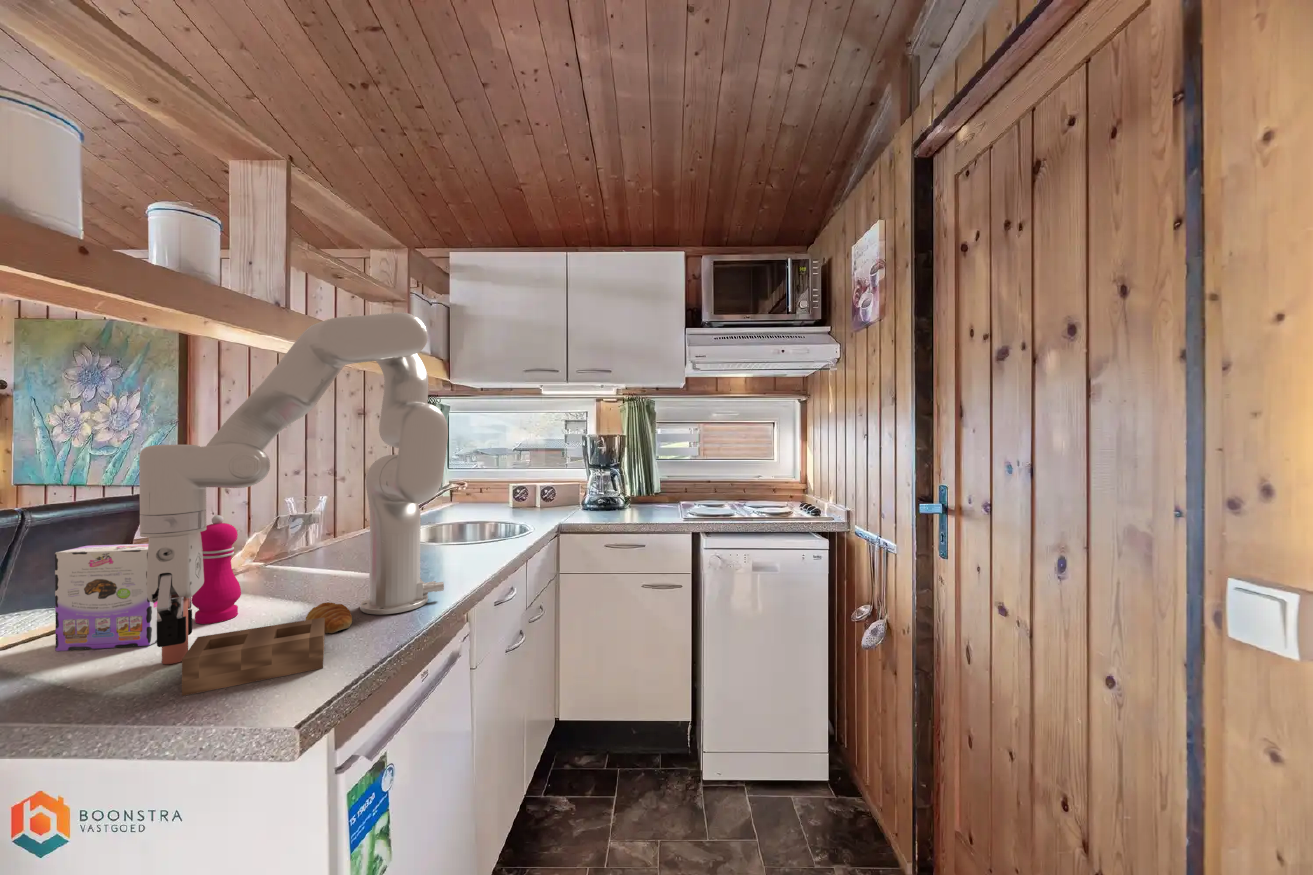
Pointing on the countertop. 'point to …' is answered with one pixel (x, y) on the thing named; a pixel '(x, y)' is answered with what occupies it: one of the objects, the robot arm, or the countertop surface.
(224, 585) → the pepper mill
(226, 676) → the hole block
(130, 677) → the countertop surface
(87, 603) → the candy box
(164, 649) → the peg
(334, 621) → the pastry
